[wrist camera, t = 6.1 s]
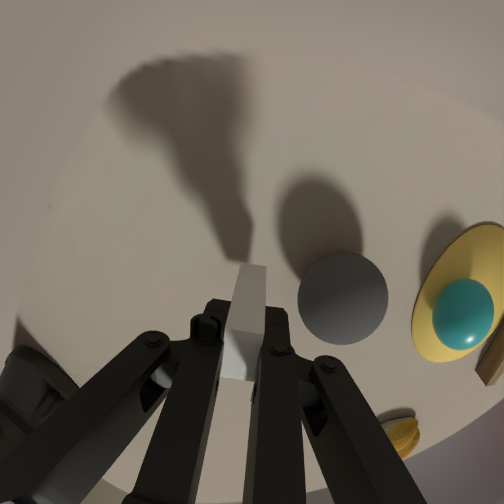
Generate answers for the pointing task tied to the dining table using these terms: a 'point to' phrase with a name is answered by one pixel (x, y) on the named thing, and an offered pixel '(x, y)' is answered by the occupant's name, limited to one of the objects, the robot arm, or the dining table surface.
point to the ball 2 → (463, 314)
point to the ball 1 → (342, 298)
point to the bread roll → (402, 434)
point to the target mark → (453, 268)
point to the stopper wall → (493, 360)
